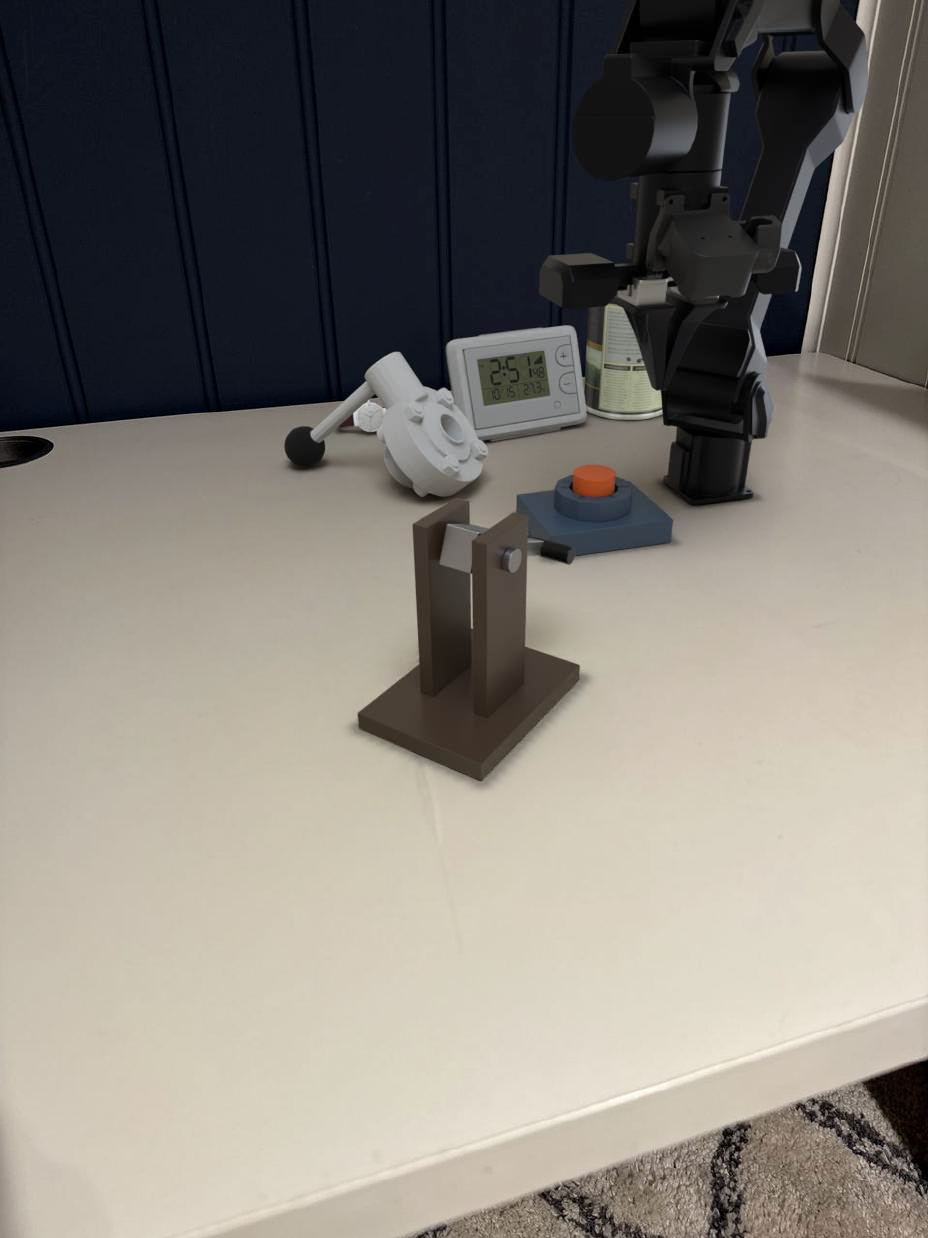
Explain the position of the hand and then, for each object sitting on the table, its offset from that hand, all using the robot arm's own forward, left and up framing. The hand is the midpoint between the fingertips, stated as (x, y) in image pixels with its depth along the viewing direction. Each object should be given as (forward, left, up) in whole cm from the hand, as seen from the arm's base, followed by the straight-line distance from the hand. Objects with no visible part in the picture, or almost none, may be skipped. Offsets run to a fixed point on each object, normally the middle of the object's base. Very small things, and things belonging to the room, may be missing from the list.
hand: (658, 389), depth 71 cm
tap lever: (+18, +17, -5) cm, 26 cm away
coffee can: (-13, -34, -13) cm, 39 cm away
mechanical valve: (+20, -20, -13) cm, 31 cm away
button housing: (+4, -3, -13) cm, 14 cm away
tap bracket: (+21, +19, -13) cm, 31 cm away
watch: (+18, -36, -13) cm, 42 cm away
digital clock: (+2, -30, -13) cm, 33 cm away
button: (+4, -3, -9) cm, 11 cm away
